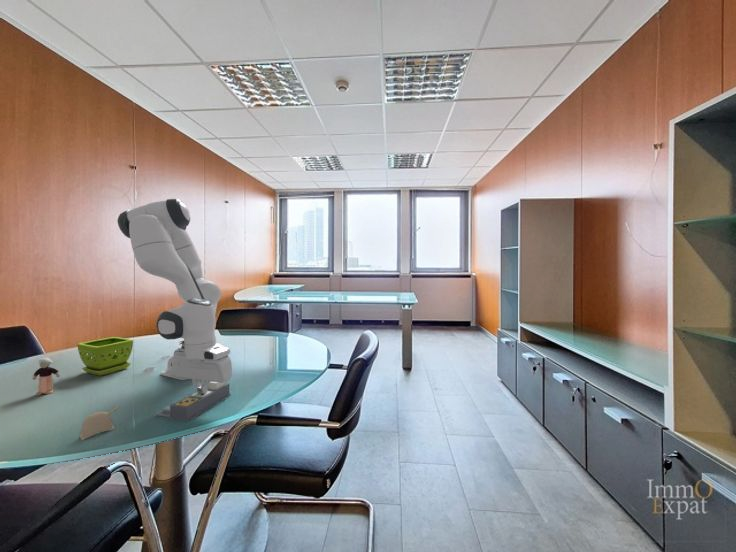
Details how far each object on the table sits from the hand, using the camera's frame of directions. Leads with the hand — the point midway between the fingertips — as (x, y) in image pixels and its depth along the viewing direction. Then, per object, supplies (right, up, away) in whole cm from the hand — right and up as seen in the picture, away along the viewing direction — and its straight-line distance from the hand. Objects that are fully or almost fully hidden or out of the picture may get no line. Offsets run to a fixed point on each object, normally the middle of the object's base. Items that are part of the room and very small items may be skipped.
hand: (201, 392), depth 97 cm
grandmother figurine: (-60, -4, +10) cm, 61 cm away
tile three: (-1, -4, -6) cm, 7 cm away
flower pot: (-58, -3, +32) cm, 66 cm away
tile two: (0, -4, 0) cm, 4 cm away
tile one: (+2, -1, +6) cm, 6 cm away
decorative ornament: (-20, -5, -14) cm, 25 cm away
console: (-2, -4, +1) cm, 5 cm away
